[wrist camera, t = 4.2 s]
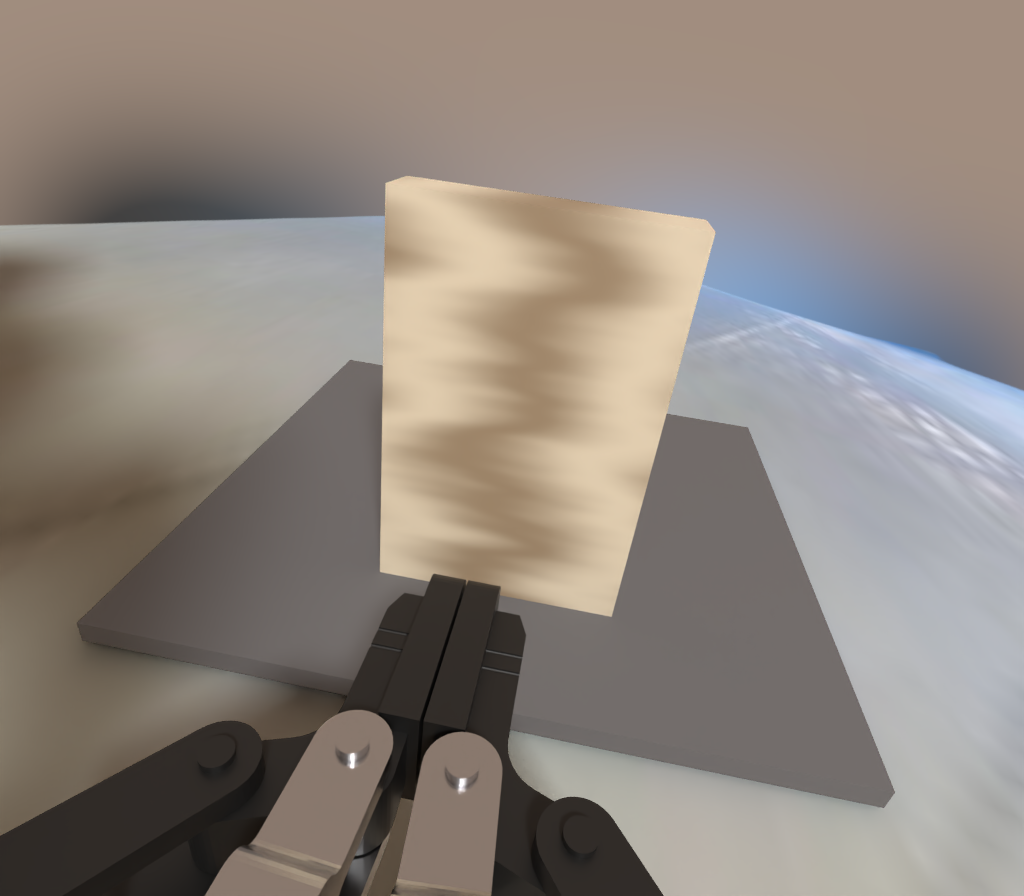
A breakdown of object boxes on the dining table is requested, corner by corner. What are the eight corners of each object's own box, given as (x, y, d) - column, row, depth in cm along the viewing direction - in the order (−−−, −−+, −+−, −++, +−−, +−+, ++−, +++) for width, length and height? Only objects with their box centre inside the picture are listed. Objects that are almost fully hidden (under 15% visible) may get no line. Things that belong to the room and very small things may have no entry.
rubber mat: (82, 640, 21) (76, 622, 20) (350, 371, 41) (350, 360, 41) (883, 807, 19) (894, 792, 18) (744, 438, 40) (747, 427, 39)
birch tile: (379, 571, 24) (385, 183, 17) (397, 538, 26) (408, 175, 19) (611, 617, 23) (715, 232, 16) (611, 578, 25) (705, 219, 18)
